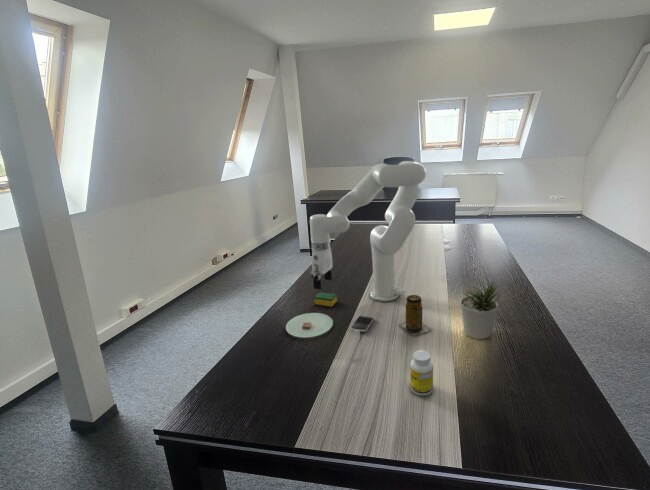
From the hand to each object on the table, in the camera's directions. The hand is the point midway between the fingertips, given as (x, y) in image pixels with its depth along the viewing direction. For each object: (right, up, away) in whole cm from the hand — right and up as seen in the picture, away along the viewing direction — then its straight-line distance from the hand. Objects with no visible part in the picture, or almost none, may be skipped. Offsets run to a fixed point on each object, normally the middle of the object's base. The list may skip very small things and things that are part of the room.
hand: (323, 284), depth 151 cm
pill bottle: (+32, -24, -49) cm, 63 cm away
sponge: (+1, -9, +3) cm, 10 cm away
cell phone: (+16, -14, -14) cm, 26 cm away
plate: (-4, -15, -14) cm, 20 cm away
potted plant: (+57, -15, -24) cm, 63 cm away
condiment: (+35, -14, -18) cm, 42 cm away
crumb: (-5, -14, -16) cm, 22 cm away
